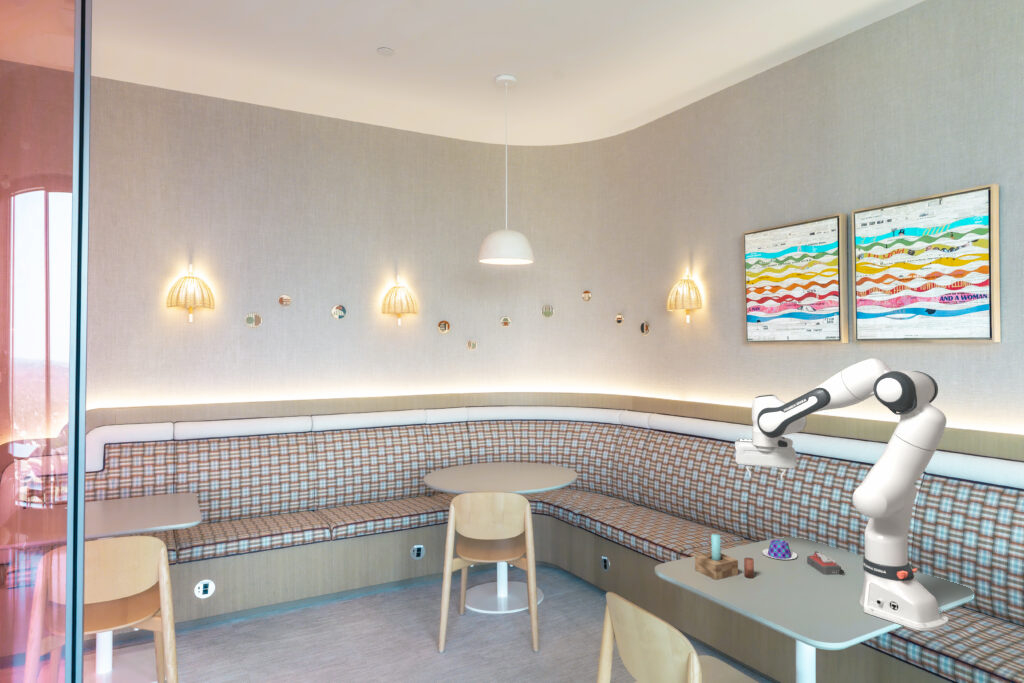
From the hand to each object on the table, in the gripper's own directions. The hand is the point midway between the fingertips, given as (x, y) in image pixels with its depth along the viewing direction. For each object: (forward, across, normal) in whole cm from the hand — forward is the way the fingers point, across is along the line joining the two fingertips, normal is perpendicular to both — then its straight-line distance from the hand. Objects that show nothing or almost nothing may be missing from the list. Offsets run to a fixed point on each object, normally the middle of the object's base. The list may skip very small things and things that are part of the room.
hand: (766, 478), depth 217 cm
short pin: (+31, -4, -13) cm, 34 cm away
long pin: (+31, -15, -14) cm, 37 cm away
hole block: (+31, -15, -14) cm, 37 cm away
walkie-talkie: (+32, +17, +10) cm, 37 cm away
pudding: (+32, +3, +14) cm, 35 cm away
